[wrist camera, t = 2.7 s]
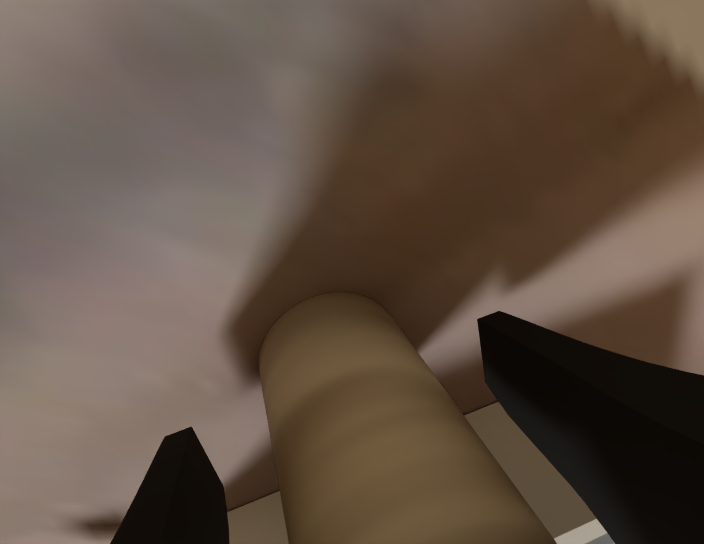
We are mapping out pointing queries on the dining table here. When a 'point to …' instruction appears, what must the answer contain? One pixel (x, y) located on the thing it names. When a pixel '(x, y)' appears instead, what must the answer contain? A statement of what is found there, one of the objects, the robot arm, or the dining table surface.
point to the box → (515, 459)
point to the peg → (376, 437)
